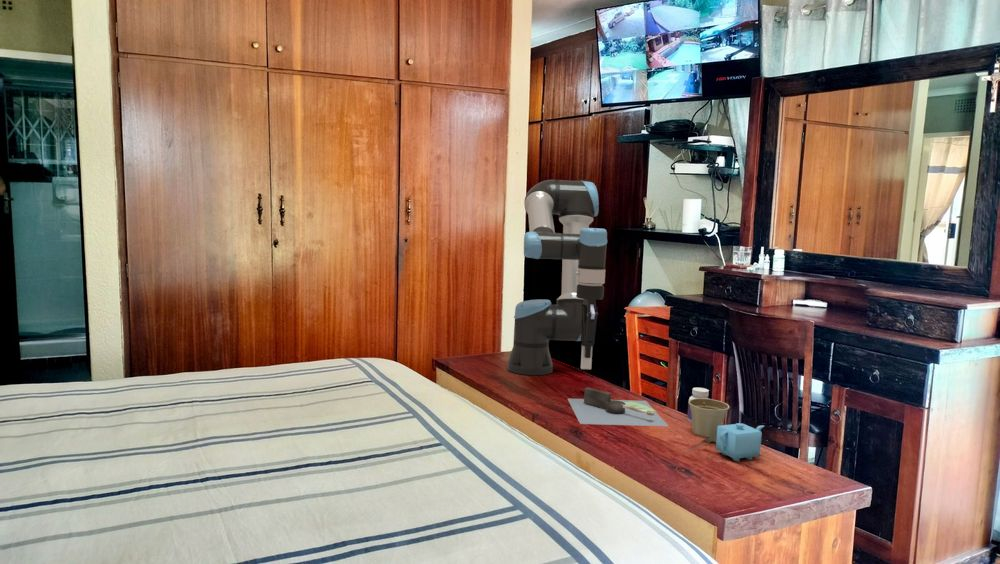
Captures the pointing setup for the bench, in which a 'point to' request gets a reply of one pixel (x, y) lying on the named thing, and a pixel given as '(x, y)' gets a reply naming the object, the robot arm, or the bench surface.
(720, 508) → the bench surface
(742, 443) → the teapot
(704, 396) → the pill bottle
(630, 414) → the tuner board
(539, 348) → the robot arm
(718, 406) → the flower pot
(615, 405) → the dark long piece
